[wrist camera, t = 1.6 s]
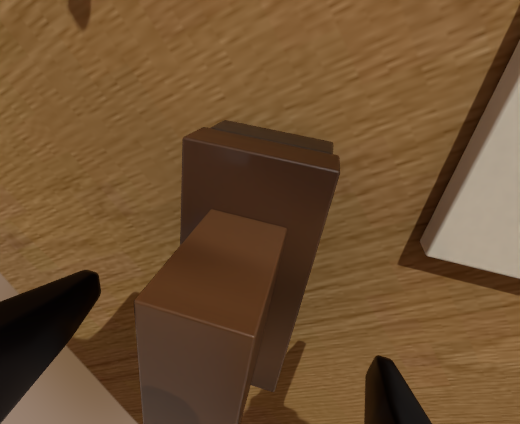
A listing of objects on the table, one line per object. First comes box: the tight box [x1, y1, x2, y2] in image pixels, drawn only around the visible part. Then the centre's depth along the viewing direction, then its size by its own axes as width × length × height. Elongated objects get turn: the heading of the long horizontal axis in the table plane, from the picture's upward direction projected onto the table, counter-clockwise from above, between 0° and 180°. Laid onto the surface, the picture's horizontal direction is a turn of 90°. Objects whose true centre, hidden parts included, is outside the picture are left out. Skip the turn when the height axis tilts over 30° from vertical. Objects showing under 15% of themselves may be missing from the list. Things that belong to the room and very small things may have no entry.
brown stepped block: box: [134, 120, 340, 424], centre depth 10 cm, size 10×4×7 cm, turn 171°
